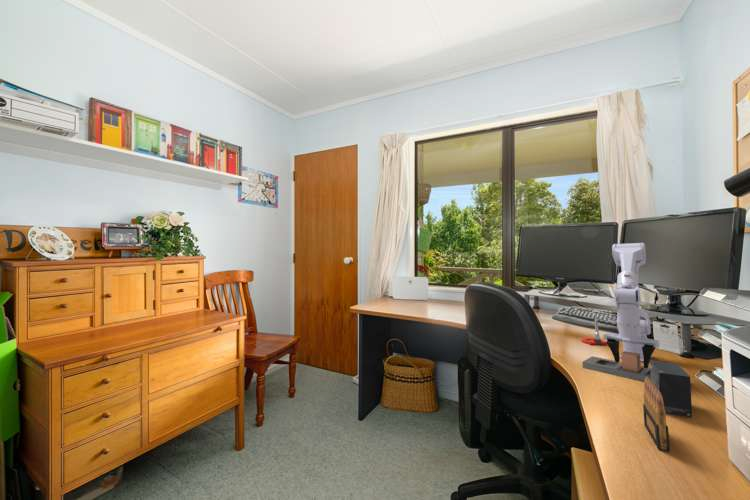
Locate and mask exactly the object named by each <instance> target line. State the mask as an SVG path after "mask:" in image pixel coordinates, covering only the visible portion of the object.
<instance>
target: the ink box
mask: <svg viewBox="0 0 750 500" xmlns="http://www.w3.org/2000/svg"><path fill="white" fill-rule="evenodd" d="M664 325H665V327H664ZM666 326H667V327H666ZM678 327H679V326H678V325H677V324H673V323H666V322H660V321H655V320H653V321H652V329H653V338H654V339H653V340H658V341H659V347H658V348H656V349H657V350H661V351H665V352H668V353H669V352H670V353H674V354H676V355H677V354H678V355H681V354H680V353H681V352H682V351H683V348H684V349H685V345H684V346H683V342H684V340H683V339H682V338H681V336H680V335H679V331H678Z"/></svg>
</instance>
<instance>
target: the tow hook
mask: <svg viewBox="0 0 750 500" xmlns="http://www.w3.org/2000/svg"><path fill="white" fill-rule="evenodd" d="M594 330H595V333H594V336H595V338H591V337H589V338H582V339H581V342H582V343H585V344H588V345H590V346H608V345H607V343H606V342H607V341H604V339H600V333H599V332H600V331H599V322H598V317H597V315H594ZM586 340H593V341H586Z"/></svg>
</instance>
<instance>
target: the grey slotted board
mask: <svg viewBox="0 0 750 500" xmlns="http://www.w3.org/2000/svg"><path fill="white" fill-rule="evenodd" d="M581 364H582V368H583V369H588V370H591V371H597V372H601V373H605V374H610V375H613V376H619V377H623V378H626V379H633V380H635V381H640V382H643V383H644V382H645V378H646V376H647V377H648V378H649V379H650V380H651V370H650V367H648V368H647V369H646V368H644V365H643V366H642V365H641V372H635V371H630V370H626V369H622V361H619V362H618V363H617V362H615V360H612V359H608V358H602V357H598V356H589V358H587V359H584V360H583V361H582V363H581Z"/></svg>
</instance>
